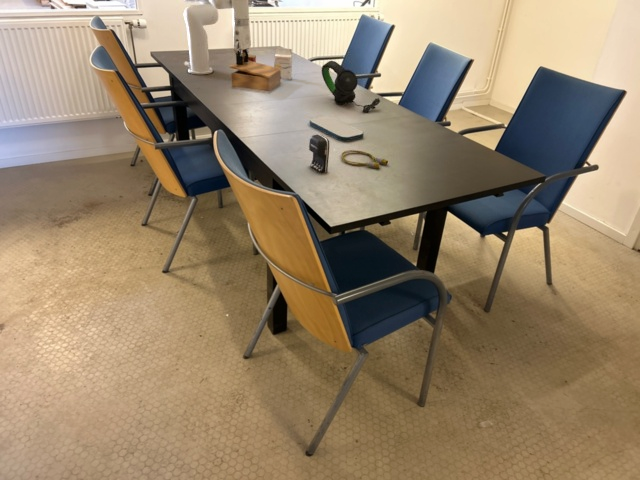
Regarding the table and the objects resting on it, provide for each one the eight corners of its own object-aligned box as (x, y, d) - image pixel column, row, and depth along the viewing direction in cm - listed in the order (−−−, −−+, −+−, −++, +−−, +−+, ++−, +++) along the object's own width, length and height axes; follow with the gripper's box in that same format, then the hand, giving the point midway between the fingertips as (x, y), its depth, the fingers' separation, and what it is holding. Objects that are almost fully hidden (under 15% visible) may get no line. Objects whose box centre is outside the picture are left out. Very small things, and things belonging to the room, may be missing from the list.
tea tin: (244, 78, 250) (244, 56, 244) (248, 76, 254) (248, 54, 248) (254, 79, 249) (253, 57, 243) (257, 77, 253) (257, 55, 247)
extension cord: (361, 173, 160) (361, 167, 159) (334, 156, 171) (334, 150, 170) (390, 166, 165) (391, 161, 164) (362, 150, 177) (363, 145, 175)
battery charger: (306, 167, 162) (308, 133, 155) (316, 165, 163) (318, 132, 157) (318, 175, 157) (320, 141, 151) (328, 173, 159) (330, 139, 152)
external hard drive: (306, 124, 197) (306, 119, 196) (328, 119, 203) (329, 115, 202) (343, 143, 181) (343, 138, 180) (366, 138, 187) (367, 133, 186)
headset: (356, 129, 220) (316, 85, 227) (379, 112, 223) (339, 70, 230) (359, 106, 203) (316, 59, 210) (384, 88, 206) (341, 43, 213)
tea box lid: (229, 67, 230) (230, 55, 227) (243, 60, 243) (244, 49, 240) (268, 78, 227) (269, 66, 224) (280, 70, 240) (282, 59, 237)
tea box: (231, 88, 234) (231, 73, 231) (245, 80, 247) (244, 66, 244) (268, 93, 230) (268, 78, 227) (280, 85, 243) (280, 70, 240)
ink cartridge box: (273, 79, 251) (273, 49, 243) (275, 77, 255) (275, 47, 248) (290, 80, 251) (290, 50, 243) (291, 78, 255) (292, 48, 247)
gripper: (240, 25, 218) (242, 67, 227) (255, 20, 232) (256, 60, 241) (225, 24, 219) (227, 66, 229) (240, 19, 233) (242, 59, 243)
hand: (242, 62), depth 235 cm, fingers closed on tea box lid, 5 cm apart
